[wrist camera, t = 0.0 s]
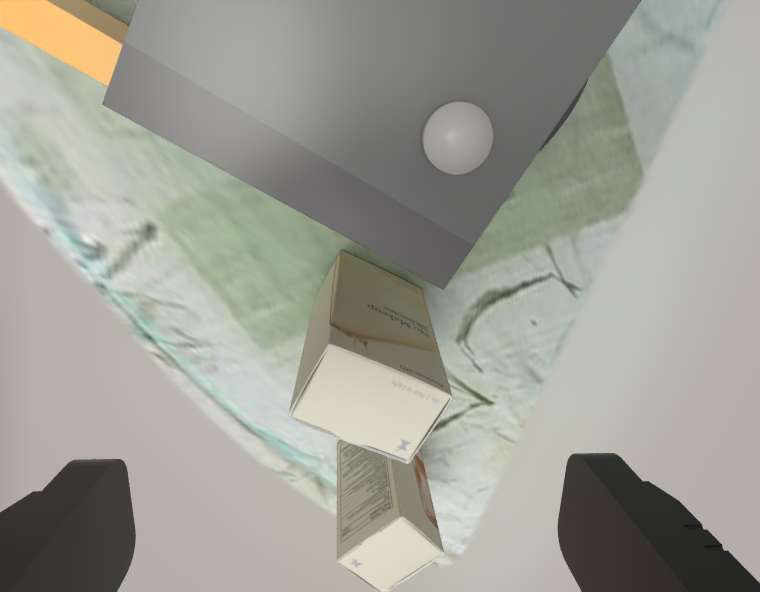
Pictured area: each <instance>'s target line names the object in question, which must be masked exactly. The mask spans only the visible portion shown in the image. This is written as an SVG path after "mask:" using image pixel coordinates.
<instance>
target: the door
mask: <svg viewBox="0 0 760 592" xmlns="http://www.w3.org/2000/svg"><path fill="white" fill-rule="evenodd" d="M0 27H2V28H4V29H6V30H8V31H9V32H11V33H13V34H15V35H17V36H18V37H20V38H22V39H24V40H26V41H27V42H29V43H31V44H33V45H35V46H36V47H38V48H40V49H42V50H44V51H45V52H47V53H49V54H51V55H53V56H54V57H56V58H58V59H60V60H62V61H64V62H65V63H67V64H69V65H71V66H73V67H74V68H76V69H78V70H80V71H82V72H83V73H85V74H87V75H89V76H91V77H92V78H94V79H96V80H98V81H100V82H101V83H103V84H105V85H107V86H109V83H110V80H111V77H112V74H113V71H114V69H115V66H116V63H117V60H118V57H119V54H120V51H121V48H122V45H123V43H124V40H125V37H126V34H127V31H128V28H129V26H127V25H126V24H124V23H122V22H121V21H119V20H117V19H116V18H114V17H112V16H110V15H109V14H107V13H105V12H104V11H102V10H100V9H99V8H97V7H95V6H94V5H92V4H90V3H89V2H87V1H85V0H0Z"/></svg>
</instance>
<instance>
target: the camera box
mask: <svg viewBox="0 0 760 592" xmlns="http://www.w3.org/2000/svg"><path fill="white" fill-rule="evenodd" d="M640 2H641V0H138V2H137V5H136V8H135V11H134V14H133V17H132V19H131V22H130V25H129V28H128V31H127V34H126V37H125V40H124V43H123V45H122V48H121V51H120V54H119V57H118V60H117V63H116V66H115V69H114V71H113V74H112V77H111V80H110V83H109V86H108V89H107V92H106V95H105V98H104V100H103V103H102V105H104V106H106V107H108V108H109V109H111V110H113V111H115V112H117V113H119V114H121V115H122V116H124V117H126V118H128V119H130V120H132V121H133V122H135V123H137V124H139V125H141V126H143V127H144V128H146V129H148V130H150V131H152V132H154V133H155V134H157V135H159V136H161V137H163V138H165V139H167V140H168V141H170V142H172V143H174V144H176V145H178V146H179V147H181V148H183V149H185V150H187V151H189V152H190V153H192V154H194V155H196V156H198V157H200V158H201V159H203V160H205V161H207V162H209V163H211V164H213V165H214V166H216V167H218V168H220V169H222V170H224V171H225V172H227V173H229V174H231V175H233V176H235V177H236V178H238V179H240V180H242V181H244V182H246V183H247V184H249V185H251V186H253V187H255V188H257V189H259V190H260V191H262V192H264V193H266V194H268V195H270V196H271V197H273V198H275V199H277V200H279V201H281V202H282V203H284V204H286V205H288V206H290V207H292V208H294V209H295V210H297V211H299V212H301V213H303V214H305V215H306V216H308V217H310V218H312V219H314V220H316V221H317V222H319V223H321V224H323V225H325V226H327V227H328V228H330V229H332V230H334V231H336V232H338V233H340V234H341V235H343V236H345V237H347V238H349V239H351V240H352V241H354V242H356V243H358V244H360V245H362V246H363V247H365V248H367V249H369V250H371V251H373V252H374V253H376V254H378V255H380V256H382V257H384V258H386V259H387V260H389V261H391V262H393V263H395V264H397V265H398V266H400V267H402V268H404V269H406V270H408V271H409V272H411V273H413V274H415V275H417V276H419V277H420V278H422V279H424V280H426V281H428V282H430V283H432V284H433V285H435V286H437V287H439V288H441V289H443V290H444V289H445V287H446V286H447V284H448V283H449V281H450V280H451V278H452V277H453V275H454V274H455V272H456V271H457V270H458V268H459V267H460V265H461V264H462V262H463V261H464V259H465V258H466V256H467V255H468V253H469V252H470V251H471V249H472V248H473V246H474V245H475V243H476V242H477V240H478V239H479V237H480V236H481V234H482V233H483V232H484V230H485V229H486V227H487V226H488V224H489V223H490V221H491V220H492V218H493V217H494V215H495V214H496V213H497V211H498V210H499V208H500V207H501V205H502V204H503V202H504V201H505V199H506V198H507V196H508V195H509V193H510V192H511V191H512V189H513V188H514V186H515V185H516V183H517V182H518V180H519V179H520V177H521V176H522V174H523V173H524V172H525V170H526V169H527V167H528V166H529V164H530V163H531V161H532V160H533V158H534V157H535V155H536V154H537V153H538V152H539V151H540V150H541V149H542V148H543V147H544V146H545V145H546V144H547V143H548V142H549V140H550V139H551V138H552V137H553V136H554V135H555V133H556V132H557V131H558V130H559V128H560V127H561V126H562V124H563V123H564V121H565V120H566V119H567V117H568V116H569V114H570V113H571V111H572V110H573V108H574V106H575V105H576V103H577V101H578V100H579V98H580V96H581V94H582V92H583V90H584V88H585V86H586V83H587V81H588V78H589V76H590V75H591V74H592V72H593V71H594V69H595V68H596V66H597V65H598V63H599V62H600V60H601V59H602V57H603V56H604V55H605V53H606V52H607V50H608V49H609V47H610V46H611V44H612V43H613V41H614V40H615V38H616V37H617V36H618V34H619V33H620V31H621V30H622V28H623V27H624V25H625V24H626V22H627V21H628V19H629V18H630V16H631V15H632V14H633V12H634V11H635V9H636V8H637V6H638V5H639V3H640Z"/></svg>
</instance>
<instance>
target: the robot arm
mask: <svg viewBox="0 0 760 592" xmlns="http://www.w3.org/2000/svg"><path fill="white" fill-rule="evenodd" d="M135 536H136V535H135V525H134V517H133V509H132V502H131V495H130V487H129V480H128V472H127V467H126V465H125V463H124V461H123V460H121V459H93V460H92V459H91V460H73V461H71V462H69V463H68V464H67V465H66V466H65V467H64V468H63V469H62V470H61V471H60V472H59V473H58V474H57V476H56V477H55V478H54V479H53V480H52V481H51V482H50V483H49V484H48V485H47V486H46V487H45V488H44V489H43V490H42V491H38V492H32V493H30V494H29V495H27V496H26V497H24V498H22V499H21V500H19V501H18V502H16V503H15V504H13V505H12V506H10V507H8V508H7V509H5V510H4V511H2V512H0V592H117V590H118V588H119V587H120V585H121V583H122V581H123V579H124V577H125V576H126V574H127V572H128V569H129V567H130V564H131V561H132V558H133V553H134V548H135V538H136V537H135ZM558 538H559V543H560V548H561V551H562V554H563V557H564V559H565V561H566V563H567V565H568V567H569V569H570V571H571V573H572V574H573V576H574V578H575V580H576V582H577V583H578V585H579V587H580V589H581V591H582V592H760V583H759V582H758V581H757V580H756V579H755V578H754V577H753V576H752V575H751V574H750V573H749V572H748V571H747V570H746V569H745V568H744V567H743V566H742V565H741V564H740V563H739V562H738V561H737V560H736V559H735V558H734V557H733V555H732V554H731V553H730V552H729V551H724V550H723V548H722V544H721V543H720V542H719V541H718V540H717V539H716V538H715V537H714V536H713V535H712V534H711V533H710V532H709V531H708V530H704V529H703V527H702V524H701V523H700V522H699V521H698V520H697V519H696V518H695V517H694V516H693V515H692V514H691V513H690V512H689V511H688V510H687V509H686V508H685V507H684V506H683V505H682V503H680V501H678V500H677V499H675V498H674V497H672V496H670V495H669V494H667V493H666V492H664V491H663V490H661V489H660V488H658V487H657V486H655V485H653V484H652V483H650V482H649V481H645V482H644V481H642V480H641V479H640V478H639V477H638V476H637V475H636V474H635V472H634V471H632V469H631V468H630V467H629V466H628V465H627V464H626V463H625V462H624V461H623V460H622V458H620V457H619V456H618V455H617V454H614V453H588V454H572V455H571V456H570V457H569V459H568V462H567V466H566V473H565V479H564V486H563V493H562V499H561V506H560V512H559V519H558Z"/></svg>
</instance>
